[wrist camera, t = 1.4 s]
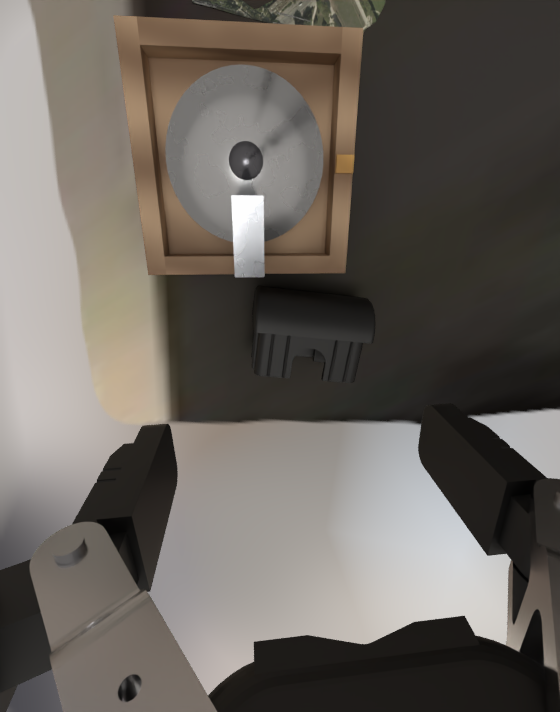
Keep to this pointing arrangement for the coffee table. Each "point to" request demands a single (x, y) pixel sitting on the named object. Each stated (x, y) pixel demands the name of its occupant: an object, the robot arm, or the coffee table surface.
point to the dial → (244, 158)
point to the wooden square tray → (198, 57)
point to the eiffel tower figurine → (306, 11)
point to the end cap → (309, 331)
